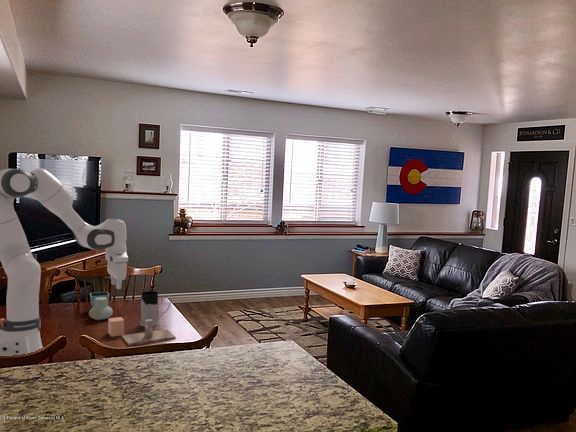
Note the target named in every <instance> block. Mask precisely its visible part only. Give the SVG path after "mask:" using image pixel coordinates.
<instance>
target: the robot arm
mask: <svg viewBox="0 0 576 432" xmlns="http://www.w3.org/2000/svg"><path fill="white" fill-rule="evenodd" d="M29 194H30V195H32V196H33V197H35V198H36V200H37V201H38V202H39V203H40V204H41V205H42V206H43V207H45V208H46V209H47V210H48V211H49V212H51V213H53V214H54V215H55V216H57V217H59V218H60V220H61V221H62V222H63V223H64V224H65V225H66V226H67V228H68V229H70V231H72V234H73V236H74V239H75V241H76V243H77V244H78V245H79V246H80V247H82V248H86V249H91V250H93V251H101V250H104V249H105V257H104V258H105V261H107V264H106V265H107V269H106V270H107V273H108V274H109V275H110V281H111V285H112V286H113V285H115V288H116V289H117V290H121V289H122V284H123V281H125V280H126V278H127V269H128V267H127V266H128V262H129V256H128V252H127V249H128V248H127V244H126V243H127V239H128V237H127V236H128V235H127V226H126V223H125V221H124V220H122V219H118V218H113V217H109V218H107V219H106V220H105V221H103V222H101V223H99V224H98V225H92V224H89V223H87V222H86V221H84V220H83V218H81V216H80V215H79V214H78V212H76V211H75V209H74V208H73V202H74V201H73V200H74V198H73V196H72V194H71V192H70V191H69V189H68V188H67V187H66V186H65V185H64V184H63V183H62V182H61V181H60V180H59V179H58V178H57V177H56V176H55V175H53V174H52V173H51V172H49V171H48V170H47V169H46V168H41V167H38V168H35V169H32V170H31V171H27V170H26V169H21V168H6V169H5V168H4V169H2V170H0V263H1V265H2V269H4V273H5V274H6V276H7V277H6V278H7V289H6V300H5V301H6V304H5V307H6V318H0V356H13V355H22V354H28V353H31V352H35V351H37V350H39V349H41V348H43V349H44V347H43V344H42V339H41V332H40V331H41V326H42V325H41V317H40V314H39V313H40V312H39V311H40V310H39V309H40V307H39V306H40V305H39V302H40V301H39V299H40V298H39V296H40V286H41V275H42V274H41V271H42V268H41V264H40V263H39V262H38V260H36V259H35V257H34V256H33V253H32V250H31V248H30V245H29V243H28V239H27V236H26V234H25V230H24V229H23V226H22V224H21V222H20V219H19V217H18V215H17V212H16V211H15V206H14V202H15V201H14V200H15V199H17V198H22V197H25V196H28V195H29Z"/></svg>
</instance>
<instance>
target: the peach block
mask: <svg viewBox="0 0 576 432" xmlns="http://www.w3.org/2000/svg"><path fill="white" fill-rule="evenodd" d="M107 319H108V320H107V333H108V334H109V337H118V336H122V335H125V319H124V318H123V317H122V316H120V317H111V318H110V317H109V318H107Z"/></svg>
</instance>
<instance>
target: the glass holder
mask: <svg viewBox="0 0 576 432" xmlns="http://www.w3.org/2000/svg"><path fill="white" fill-rule="evenodd" d="M166 296H168V297H169V298H170V299H169V305H168V307H167V308H166V310H165V311H163V312H162V313H161V314H160V315H159V305H161V304H162V303H163V298H164V297H166ZM140 303H141V305H140V308H141V309H140V312H141V313H140V316H141V317H140V319H141V320H140V324H139V325H140V326H141V327H144V328H145V320H147V319H151V320H153V327H157V326H159V325H160V322H159V320H160V318H161V316H163V315H164V314H165V313H166V312H167V311H168V310H169V308H170V307H171V304H172V298H171V296H170V295H169V294H164V295H163V296H161V302H159V292H158V291H155V290H153V291H152V290H149V291H142V292H141V300H140Z"/></svg>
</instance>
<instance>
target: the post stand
mask: <svg viewBox="0 0 576 432" xmlns="http://www.w3.org/2000/svg"><path fill="white" fill-rule="evenodd" d="M153 328H154V326H153V320H151V319H147V320H145V327H144V331H143V332H137V333H129V334H124V335H121V338H122V339H121V340H123V341H124V342H125V344H126V345H128V346H129V347H131V346H137V345H143V344H151V343H157V342H163V341H170V340H176V338H177V336H176V335H174V334H173V333H172V332H171V331H170V330H169V329H168V328H166V329H165V328H164V329H158V330H153Z"/></svg>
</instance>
